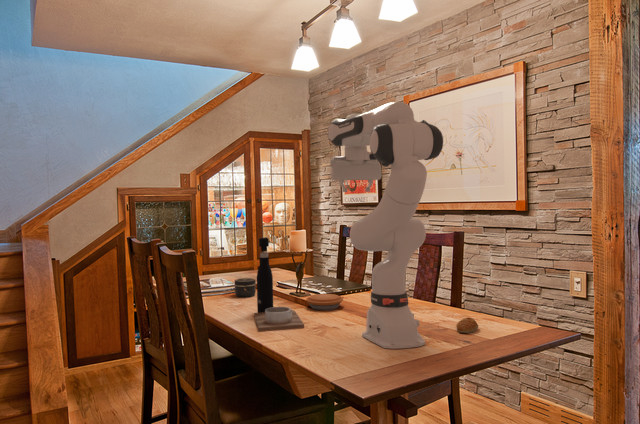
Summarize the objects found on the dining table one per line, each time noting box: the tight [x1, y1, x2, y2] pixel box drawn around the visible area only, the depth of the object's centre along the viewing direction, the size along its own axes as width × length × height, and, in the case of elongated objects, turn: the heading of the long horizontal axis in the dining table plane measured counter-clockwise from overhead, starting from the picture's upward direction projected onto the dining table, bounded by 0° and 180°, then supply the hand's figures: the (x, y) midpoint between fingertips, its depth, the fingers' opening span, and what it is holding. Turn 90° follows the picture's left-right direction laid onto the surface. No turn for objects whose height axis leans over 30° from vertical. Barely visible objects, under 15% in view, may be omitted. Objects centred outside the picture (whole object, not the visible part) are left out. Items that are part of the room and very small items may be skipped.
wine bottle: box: [256, 237, 274, 313], centre depth 194 cm, size 6×6×30 cm
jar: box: [234, 277, 257, 298], centre depth 229 cm, size 10×10×8 cm
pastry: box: [455, 317, 479, 334], centre depth 164 cm, size 9×7×4 cm
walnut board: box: [253, 309, 305, 332], centre depth 180 cm, size 22×16×1 cm
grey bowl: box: [265, 306, 293, 324], centre depth 177 cm, size 10×10×4 cm
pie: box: [306, 293, 344, 311], centre depth 202 cm, size 16×16×5 cm
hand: (356, 191), depth 189 cm, fingers open, 8 cm apart
